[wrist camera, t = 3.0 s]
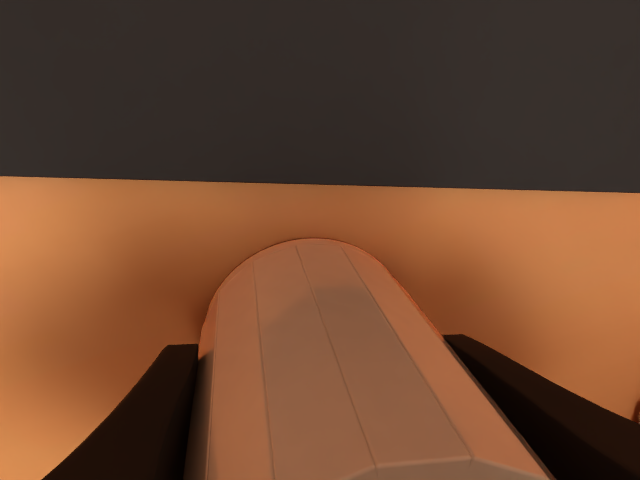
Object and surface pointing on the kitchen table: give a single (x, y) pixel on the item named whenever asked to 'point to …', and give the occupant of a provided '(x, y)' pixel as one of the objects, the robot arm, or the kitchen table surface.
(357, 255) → the cream cup
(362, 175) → the placemat
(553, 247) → the kitchen table surface
